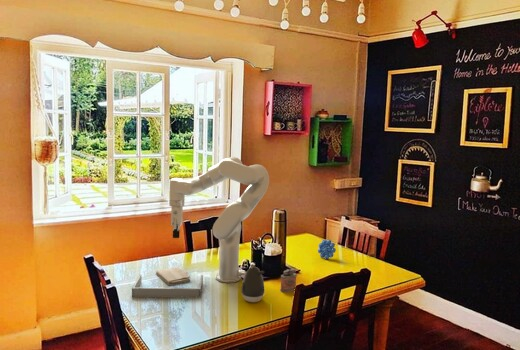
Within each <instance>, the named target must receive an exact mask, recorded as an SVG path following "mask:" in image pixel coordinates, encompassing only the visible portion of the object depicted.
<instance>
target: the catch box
mask: <svg viewBox="0 0 520 350" xmlns="http://www.w3.org/2000/svg"><path fill="white" fill-rule="evenodd" d="M203 280H204V275H203V274H202V275H200V280H199V285H198V287H140V286H141V285H142V274H139V275H138V277H137V279H136V280H135V282H134V284H133V285H132V287H131V298H132V297H133V298H196V299H197V298H201V295H202V289H203V283H204V281H203Z"/></svg>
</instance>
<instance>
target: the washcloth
mask: <svg viewBox="0 0 520 350" xmlns="http://www.w3.org/2000/svg"><path fill="white" fill-rule="evenodd" d="M155 275H157V276H158V277H159V278H160V279H161V280H162V281H163V282H165V283H166V284H167V286H174V285H175V286H177V285H180V284H185V283H189V282H191V279H190V275H189V274H188V272H186V271H185V270H184V269H182V268H181V267H180V266H173V267H170V268H165V269H164V268H163V269H160V270H156V271H155Z"/></svg>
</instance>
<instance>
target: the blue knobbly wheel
mask: <svg viewBox="0 0 520 350" xmlns="http://www.w3.org/2000/svg"><path fill="white" fill-rule="evenodd" d="M335 246H336V244H335V243H334V242H332V239H327V240H326V239H322V240H321V242H320V243H318V249H317V253H318V254H319V257H320V258H322V259H323V258H324V259H325V260H328V259H329V258H333V257H334V256H335V255H334V254H335V252H337V250H336V247H335Z"/></svg>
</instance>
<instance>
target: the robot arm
mask: <svg viewBox="0 0 520 350" xmlns="http://www.w3.org/2000/svg"><path fill="white" fill-rule="evenodd" d="M228 179H229V180H232V181H235V182H236V183H240V184H242V185H246V186H248V187H246V189H245V190H244V191H243V193H242V194H241V195H240V197H239V198H238V199H236V200H234V201H232V202H231V203H229V204H228V205H227V206H226V207H225V208H224V210H223V211H222V212H221V214H220V215H219V216H218V218H217V219H216V220H215V222H214V223H213V226H212V234H213V236H214V237H215V238H216V239H218V240H219V253H218V254H219V257H218V258H219V259H218V260H219V261H218V273H216V274H215V279H216V281H218V282H222V283H227V284H229V283H236V282H239V281H241V279H242V276H244V277H245V274H246V272H247V271H246V270H244V269H243V270H241V269H240V267H239V262H240V261H239V260H240V238H241V231H242V221H244V220H246V219H247V218H249V216H250V215H251V214H252V212H253V210H254V209H255V208H256V207H257V205H258V204H259V203H260V201H261V200H262V199H263V197H264V196H265V194H266V193H267V191H268V189H269V185H270V175H269V172H268V170H267V168H265V166H264V165H261V164H258V163H257V164H253V165H252V164H251V165H249V166H248V165H246V164H243V162H242V160H241V159H240V158H238V157H235V156H232V157H226V158H223V159H222V160H221V161H220V162H219V163H217V164H215V165H212V166H210V167H209V168H208V170H207V171H206V172H204V173H203V174H201V175H199V176H196V177H194V178H191V179H186V180H185V179H184V178H180V177H174V178H171V179H170V180H169V197H168V198H169V204H168V206H169V207H171V209H170V211H171V213H170V223H171V224H170V225H171V226H172V228H173V229H172V238H173V239H179V238H180V232H181V231H180V230H181V229H180V227H181V226H182V224H183V222H184V216H183V214H184V211H183V208H184V207H185V196H193V195H195V194H198V193H201V192H203V191H205V190H207V189H209V188H211V187H213V186H215V185H218V184H220V183H222V182H223V181H225V180H228Z"/></svg>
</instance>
